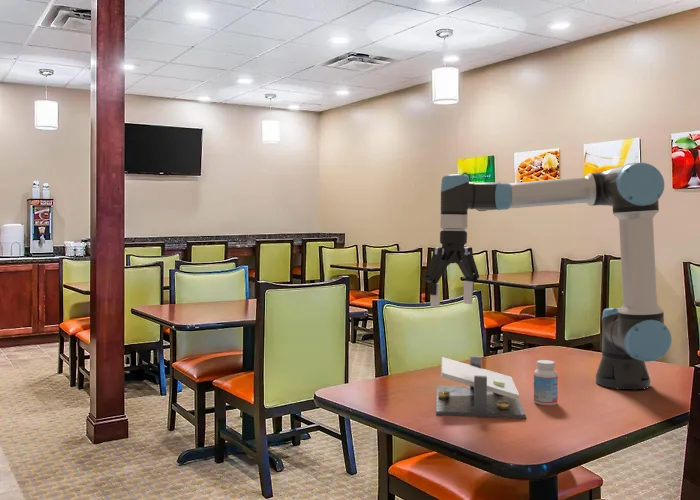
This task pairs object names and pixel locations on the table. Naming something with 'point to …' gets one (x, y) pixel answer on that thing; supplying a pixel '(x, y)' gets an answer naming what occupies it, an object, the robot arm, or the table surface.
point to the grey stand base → (476, 400)
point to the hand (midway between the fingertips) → (451, 305)
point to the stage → (467, 372)
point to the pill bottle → (545, 383)
